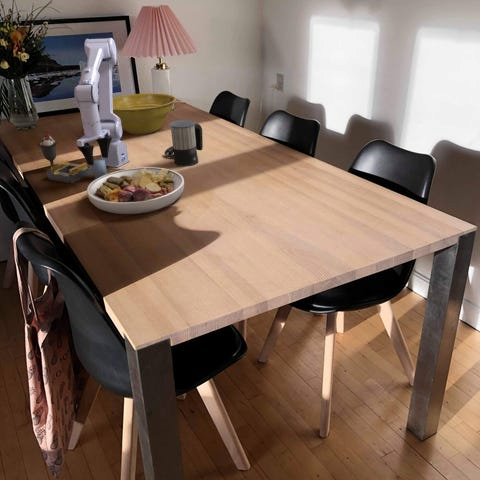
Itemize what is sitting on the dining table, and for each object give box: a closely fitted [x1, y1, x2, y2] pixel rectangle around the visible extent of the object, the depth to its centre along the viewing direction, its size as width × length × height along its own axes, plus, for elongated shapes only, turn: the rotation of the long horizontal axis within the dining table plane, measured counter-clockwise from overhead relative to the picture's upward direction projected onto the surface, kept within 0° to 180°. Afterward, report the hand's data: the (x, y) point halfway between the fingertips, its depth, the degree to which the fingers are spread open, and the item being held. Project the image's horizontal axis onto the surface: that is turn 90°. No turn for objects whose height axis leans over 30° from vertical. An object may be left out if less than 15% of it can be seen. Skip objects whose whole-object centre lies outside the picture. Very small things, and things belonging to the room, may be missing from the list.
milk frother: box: [164, 119, 204, 167], centre depth 189 cm, size 14×16×15 cm
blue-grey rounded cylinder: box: [91, 158, 108, 180], centre depth 177 cm, size 4×4×6 cm
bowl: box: [86, 166, 185, 215], centre depth 160 cm, size 30×30×8 cm
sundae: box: [37, 130, 58, 173], centre depth 184 cm, size 7×7×15 cm
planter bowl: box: [113, 92, 177, 135], centre depth 227 cm, size 32×32×13 cm
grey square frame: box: [46, 159, 94, 184], centre depth 180 cm, size 11×11×4 cm
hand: (98, 160), depth 175 cm, fingers open, 7 cm apart
